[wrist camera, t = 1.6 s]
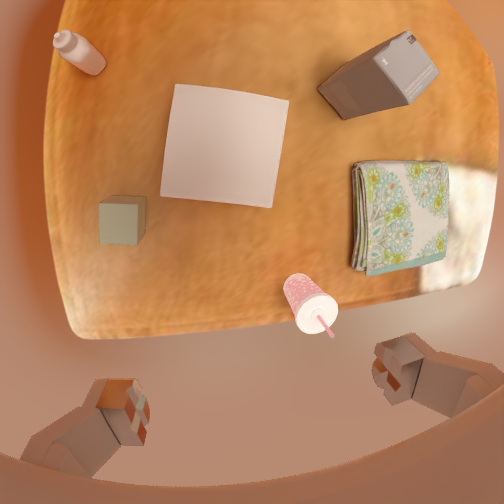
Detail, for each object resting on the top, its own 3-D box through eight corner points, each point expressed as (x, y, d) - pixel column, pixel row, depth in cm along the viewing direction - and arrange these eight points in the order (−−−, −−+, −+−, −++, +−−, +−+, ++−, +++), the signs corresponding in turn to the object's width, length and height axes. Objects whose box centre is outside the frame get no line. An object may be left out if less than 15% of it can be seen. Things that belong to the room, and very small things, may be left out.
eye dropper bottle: (81, 84, 30) (43, 64, 19) (74, 53, 28) (38, 27, 16) (108, 70, 30) (78, 44, 19) (101, 40, 28) (71, 7, 17)
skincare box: (342, 121, 38) (411, 114, 24) (311, 84, 36) (371, 57, 21) (375, 91, 37) (445, 78, 23) (346, 56, 35) (411, 27, 20)
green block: (111, 195, 36) (98, 203, 31) (146, 196, 37) (137, 204, 32) (111, 230, 38) (99, 243, 32) (145, 231, 39) (137, 245, 33)
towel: (344, 160, 41) (362, 162, 36) (438, 160, 44) (457, 163, 39) (345, 270, 47) (360, 282, 43) (433, 251, 50) (450, 259, 46)
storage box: (178, 93, 34) (175, 83, 28) (276, 107, 37) (289, 100, 31) (165, 189, 38) (159, 196, 32) (261, 199, 41) (271, 208, 35)
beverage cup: (287, 264, 44) (323, 310, 32) (320, 274, 46) (363, 319, 33) (272, 298, 46) (300, 353, 33) (305, 306, 48) (340, 358, 35)
